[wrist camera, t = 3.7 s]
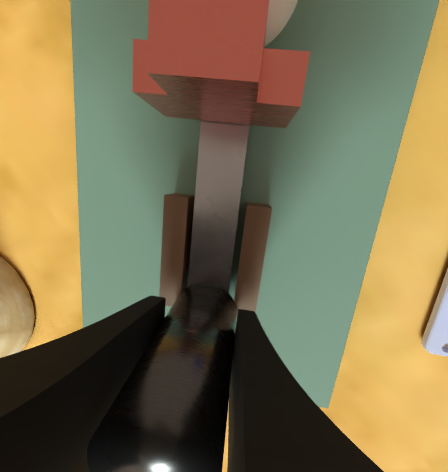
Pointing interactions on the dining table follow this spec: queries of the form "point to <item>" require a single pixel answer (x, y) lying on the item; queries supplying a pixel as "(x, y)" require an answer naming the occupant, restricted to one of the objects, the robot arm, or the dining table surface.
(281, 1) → the ball
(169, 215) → the rail guides
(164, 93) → the kicker rod
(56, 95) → the dining table surface
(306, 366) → the mat
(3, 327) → the hand bell
